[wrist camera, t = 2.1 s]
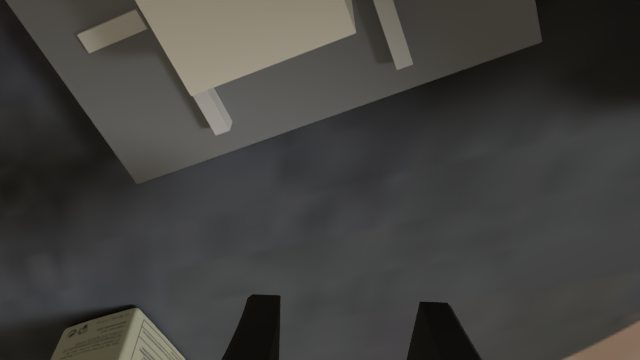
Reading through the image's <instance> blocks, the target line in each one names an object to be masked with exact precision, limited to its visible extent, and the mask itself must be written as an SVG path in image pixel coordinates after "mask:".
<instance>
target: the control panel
mask: <svg viewBox="0 0 640 360" xmlns="http://www.w3.org/2000/svg"><path fill="white" fill-rule="evenodd" d="M5 1H6V2H7V3H8V5H9V6H10V8H11V9H12V10H13V12H14V13H15V15H16V16H17V17H18V19H19V20H20V22H21V23H22V24H23V26H24V27H25V29H26V30H27V31H28V33H29V34H30V35H31V37H32V38H33V40H34V41H35V42H36V44H37V45H38V47H39V48H40V49H41V51H42V52H43V54H44V55H45V56H46V58H47V59H48V61H49V62H50V63H51V65H52V66H53V68H54V69H55V70H56V72H57V73H58V75H59V76H60V77H61V79H62V80H63V82H64V83H65V84H66V86H67V87H68V89H69V90H70V91H71V93H72V94H73V96H74V97H75V98H76V100H77V101H78V103H79V104H80V105H81V107H82V108H83V110H84V111H85V112H86V114H87V115H88V117H89V118H90V119H91V121H92V122H93V124H94V125H95V126H96V128H97V129H98V130H99V132H100V133H101V135H102V136H103V137H104V139H105V140H106V142H107V143H108V144H109V146H110V147H111V149H112V150H113V151H114V153H115V154H116V156H117V157H118V158H119V160H120V161H121V163H122V164H123V165H124V167H125V168H126V170H127V171H128V172H129V174H130V175H131V177H132V178H133V179H134V181H135V182H136V184H140V183H143V182H145V181H148V180H151V179H154V178H157V177H160V176H163V175H165V174H168V173H171V172H174V171H177V170H180V169H182V168H185V167H188V166H191V165H194V164H197V163H200V162H202V161H205V160H208V159H211V158H214V157H217V156H219V155H222V154H225V153H228V152H231V151H234V150H237V149H239V148H242V147H245V146H248V145H251V144H254V143H256V142H259V141H262V140H265V139H268V138H271V137H274V136H276V135H279V134H282V133H285V132H288V131H291V130H293V129H296V128H299V127H302V126H305V125H308V124H310V123H313V122H316V121H319V120H322V119H325V118H328V117H330V116H333V115H336V114H339V113H342V112H345V111H347V110H350V109H353V108H356V107H359V106H362V105H365V104H367V103H370V102H373V101H376V100H379V99H382V98H384V97H387V96H390V95H393V94H396V93H399V92H402V91H404V90H407V89H410V88H413V87H416V86H419V85H421V84H424V83H427V82H430V81H433V80H436V79H439V78H441V77H444V76H447V75H450V74H453V73H456V72H458V71H461V70H464V69H467V68H470V67H473V66H476V65H478V64H481V63H484V62H487V61H490V60H493V59H495V58H498V57H501V56H504V55H507V54H510V53H513V52H515V51H518V50H521V49H524V48H527V47H530V46H532V45H535V44H538V43H541V42H542V37H541V31H540V26H539V20H538V14H537V8H536V3H535V0H352V7H353V14H354V20H355V27H356V33H355V34H353V35H350V36H347V37H345V38H342V39H339V40H337V41H334V42H332V43H329V44H326V45H324V46H321V47H319V48H316V49H313V50H311V51H308V52H305V53H303V54H300V55H298V56H295V57H292V58H290V59H287V60H285V61H282V62H279V63H277V64H274V65H271V66H269V67H266V68H264V69H261V70H258V71H256V72H253V73H251V74H248V75H245V76H243V77H240V78H237V79H235V80H232V81H230V82H227V83H224V84H222V85H219V86H217V87H214V88H211V89H209V90H206V91H203V92H201V93H198V94H196V95H193V96H191V95H190V94H189V92H188V90H187V89H186V87H185V85H184V83H183V82H182V80H181V78H180V77H179V75H178V73H177V71H176V70H175V68H174V66H173V65H172V63H171V61H170V59H169V58H168V56H167V54H166V53H165V51H164V49H163V47H162V46H161V44H160V42H159V41H158V39H157V37H156V35H155V34H154V32H153V30H152V29H151V27H150V25H149V23H148V22H147V20H146V18H145V17H144V15H143V13H142V11H141V10H140V8H139V6H138V5H137V3H136V1H135V0H5Z"/></svg>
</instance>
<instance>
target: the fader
mask: <svg viewBox="0 0 640 360" xmlns="http://www.w3.org/2000/svg"><path fill="white" fill-rule="evenodd" d="M135 1H136V3H137V5H138V6H139V8H140V10H141V11H142V13H143V15H144V17H145V18H146V20H147V22H148V23H149V25H150V27H151V29H152V30H153V32H154V34H155V35H156V37H157V39H158V41H159V42H160V44H161V46H162V47H163V49H164V51H165V53H166V54H167V56H168V58H169V59H170V61H171V63H172V65H173V66H174V68H175V70H176V71H177V73H178V75H179V77H180V78H181V80H182V82H183V83H184V85H185V87H186V89H187V90H188V92H189V94H190V95H191V96H193V95H196V94H198V93H201V92H203V91H206V90H209V89H211V88H214V87H217V86H219V85H222V84H224V83H227V82H230V81H232V80H235V79H237V78H240V77H243V76H245V75H248V74H251V73H253V72H256V71H258V70H261V69H264V68H266V67H269V66H271V65H274V64H277V63H279V62H282V61H285V60H287V59H290V58H292V57H295V56H298V55H300V54H303V53H305V52H308V51H311V50H313V49H316V48H319V47H321V46H324V45H326V44H329V43H332V42H334V41H337V40H339V39H342V38H345V37H347V36H350V35H353V34H355V33H356V27H355V20H354V14H353V7H352V0H135Z"/></svg>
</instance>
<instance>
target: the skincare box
mask: <svg viewBox="0 0 640 360" xmlns="http://www.w3.org/2000/svg"><path fill="white" fill-rule="evenodd" d="M51 360H185V358H184V357H183V356H182V355H181V354H180V353H179V352H178V351H177V349H176V348H175V347H174V346H173V345H172V344H171V343H170V342H169V340H168V339H167V338H166V337H165V336H164V335H163V334H162V333H161V332H160V331H159V330H158V329H157V327H156V326H155V325H154V324H153V323H152V322H151V321H150V320H149V319H148V318H147V317H146V316H145V315H144V314H143V313H142V311H141V310H139V309H138V308H132V309H129V310H125V311H121V312H118V313H114V314H111V315H107V316H103V317H100V318H97V319H93V320H90V321H87V322H84V323H81V324H77V325H75V326H72V327H69V328H66V329H65V330H64V332H63V334H62V336H61V338H60V341H59V343H58V345H57V347H56V349H55V351H54V353H53V355H52V358H51Z"/></svg>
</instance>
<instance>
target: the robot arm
mask: <svg viewBox="0 0 640 360" xmlns="http://www.w3.org/2000/svg"><path fill="white" fill-rule="evenodd" d="M279 339H280V296H278V295H255V294H253V295H251V296H250V297H248V299H247V302H246V306H245V309H244V311H243V314H242V317H241V319H240V322H239V324H238V327H237V329H236V331H235V333H234V336H233V338H232V340H231V342H230V344H229V346H228V348H227V350H226V352H225V354H224V356H223V358H222V360H279ZM407 360H482V359H481V357H480V356H479V354H478V352H477V351H476V349H475V348H474V346H473V344H472V343H471V341H470V339H469V338H468V336H467V334H466V333H465V331H464V329H463V327H462V326H461V324H460V322H459V320H458V319H457V317H456V315H455V313H454V311H453V310H452V308H451V306H450V305H449V304H448V303H439V302H420V304H419V308H418V312H417V317H416V321H415V326H414V330H413V334H412V339H411V343H410V347H409V352H408V356H407Z"/></svg>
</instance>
